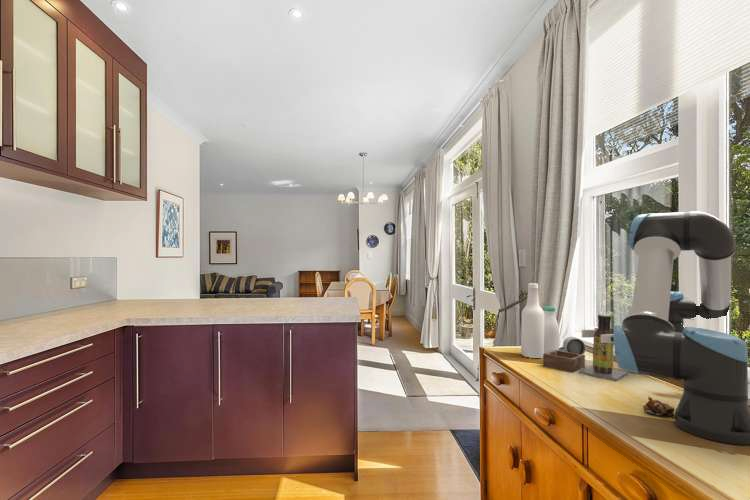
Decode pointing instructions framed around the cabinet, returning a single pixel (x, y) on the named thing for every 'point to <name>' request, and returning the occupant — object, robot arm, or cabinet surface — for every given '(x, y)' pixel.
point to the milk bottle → (550, 330)
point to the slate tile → (611, 376)
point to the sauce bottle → (603, 346)
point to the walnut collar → (564, 360)
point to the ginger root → (658, 408)
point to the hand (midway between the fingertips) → (591, 336)
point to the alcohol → (532, 325)
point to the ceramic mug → (573, 345)
